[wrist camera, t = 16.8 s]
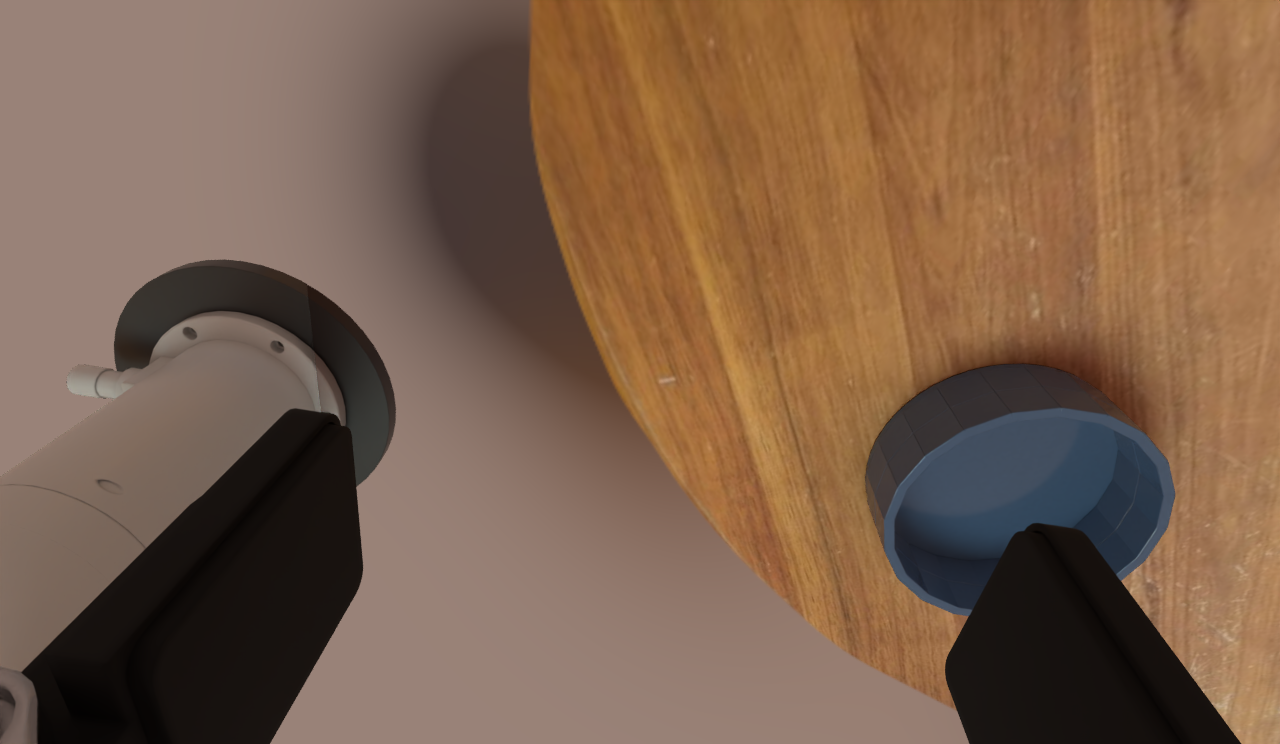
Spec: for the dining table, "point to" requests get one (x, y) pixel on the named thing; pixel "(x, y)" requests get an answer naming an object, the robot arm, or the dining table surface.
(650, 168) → the dining table surface
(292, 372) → the robot arm
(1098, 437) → the serving bowl
